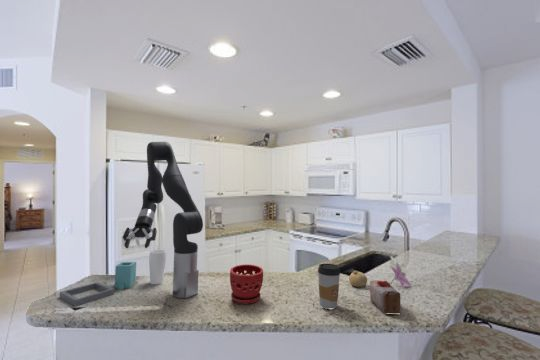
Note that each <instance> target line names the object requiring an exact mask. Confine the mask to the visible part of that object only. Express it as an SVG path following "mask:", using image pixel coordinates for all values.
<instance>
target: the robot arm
mask: <svg viewBox="0 0 540 360" xmlns="http://www.w3.org/2000/svg"><path fill="white" fill-rule="evenodd" d="M160 161H166V162H167V166H166V169H165V170H164V173H163V175H162V173H161V171H160V170H159V169H158V168H157V165H156V164H155V162H160ZM146 163H147V175H148V176H147V184H146V187H147V189H145V190H144V191H143V193H142V205H141V209H140V211H139V213H138V216H137V218H136V220H135V224H134V227H133V228H130V227H126V229H125V230H124V233H123V235H122V239H123V241H125V242H124V245H123V246H124V247H125V248H126V249H128V248H129V245H130V244H131V241H133V240H135V239H136V238H137V239H138V238H142V239H143V238H146V241H145V243H144V249H148V248H149V247H150V244H151V242H152V241H156V238H157V233H158V232H157V228H156V227H153V228H152V226H153V223H154V219H155V215H156V211H157V208H158V207H157V205H156V204H160V203H162V202H163V200H164V193H163V189H164V192H165V193H166V195H167V197H168V198H170V199H171V200H172V201H173V202H174V203H175V204H176V205H178V206H179V208H180V209H182V211H183V212H178V213H176V214H175V215H174V217H173V223H172V229H173V230H172V233H173V234H172V237H173V239H172V240H173V243H172V244H173V271H172V272H173V275H172V296H173V297H174V298H179V299H188V298H191V297H192V296H195V295H197V294H199V270H198V250H199V249H198V243H196V242H194V241H193V242H192V241H189V240H188V235H195V234H199V233H201V232H202V231H203V228H204V221H203V217H202V215H201V212H200V211H199V209H198V208H197V205H196V204H195V202H194V200H193V199H192V195H191V194H190V192H189V189H188V187H187V184H186V182H185V179H184V177H183V175H182V172H181V170H180V167H179V166H178V163H177V160H176V157H175V152H174V149H173V147H172V144H170V142H168V141H150V142H149V143H148V144H147V146H146ZM162 186H163V188H162ZM150 233H151V234H152V235H151V236H150V235H149V234H150Z"/></svg>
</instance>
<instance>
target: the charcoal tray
mask: <svg viewBox="0 0 540 360" xmlns="http://www.w3.org/2000/svg"><path fill="white" fill-rule="evenodd" d="M95 289H96V290H98V292H96V293H92V294H88V295H85V296H82V297H76V296H74V295H78V294H81V293H85V292H89V291H92V290H95ZM114 294H115V289H113V287H110V286H108V285H106V284H103V283H101V282H99V281H97V282H92V283H89V284H84V285H80V286H77V287H74V288H70V289H66V290H65V289H64V290H62V291H59V298H60V299H61V300H63V301H65V302H66V303H68V304H70V305H72V306H74V307H70V309H71V310H73V311H75V312H76V311H78V310H82V309H85V308H86V306H81V305H85V304H88V303H91V302H93V301H94V302H95V301H97V300H101V299H103V298H106V297H110V296H113V295H114ZM80 306H81V307H80Z"/></svg>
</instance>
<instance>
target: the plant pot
mask: <svg viewBox="0 0 540 360" xmlns="http://www.w3.org/2000/svg"><path fill="white" fill-rule="evenodd" d="M229 271H230V272H229V284H230V289H231V291H232V292H231V295H230V297H231V299H232V300H233V301H234V302H236V303H238V304H243V305H249V303H250V304H254V303H256V302H257V301H259V300H260V298H261V290H262V287H263V281H264V268H263V267H261V266H259V265H255V264H239V265H235V266H233V267H231V268H230V270H229ZM253 272H254V273H253Z"/></svg>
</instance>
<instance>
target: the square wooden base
mask: <svg viewBox="0 0 540 360" xmlns="http://www.w3.org/2000/svg"><path fill="white" fill-rule="evenodd" d="M138 283H139V281H136V282H135V284H134V285H133V286H132V287H131V288H124V289H123V290H132V289H133V288H134V287H136V286H137V284H138ZM112 288H113V289H114V290H118V288H115V285H114V286H113V287H112Z"/></svg>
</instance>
